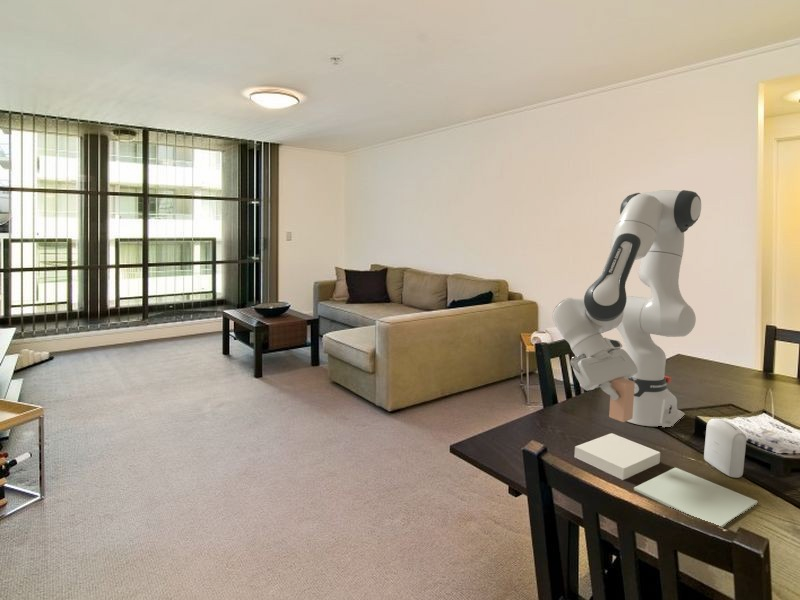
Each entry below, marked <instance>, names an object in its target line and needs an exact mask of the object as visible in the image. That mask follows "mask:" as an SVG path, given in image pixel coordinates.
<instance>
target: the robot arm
mask: <svg viewBox="0 0 800 600" xmlns="http://www.w3.org/2000/svg"><path fill="white" fill-rule="evenodd" d="M701 210H702V200H701V197H700V196H699V194H698V193H697V192H695V191H692V190H685V189H682V190H666V189H665V190H658V191H647V192H642V193H640V192H636V193H631V194H629V195H627V196H626V197H625V198H624V199H623V201H622V202H621V204H620V209H619V217H618V219H617V221H616V224H615V226H614V229H613V233H612V234H611V235H612V236H611V240H610V241H611V242H610V247H609V248H610V253H609V255H608V257H607V260H606V263H605V265H604V266H603V269H602V272H601V274H600V275H599V276H598V278H596V280H595V281H594V282H593V283H592V284H591V285H590V286H589V287H588V288H587V289H586V291H585V293H584V297H583V298H573V297H568V298H565V299H563V300H561V301H560V302H558V304H557V305H556V306H555V307H554V309H553V312H552V321H553V322H554V325H555V326H556V328H557V330H558V331H559V334H560V335H561V336H562V338H563V339H564V340H565V341H566V342H567V343H568V344H569V346H570V349H571V351H572V353H573V354H574V356H572V357H571V359H570V365H571V367H572V370H573V372H574V376H575V377H576V379H577V381H578V383H579V384H580V387H581V388H582V389H583V390H585V391H587V392H588V391H592V390H595V389H597V388H600V389H601V391H603V392H604V393H605V394H607V395H609V397H610V396H611V398H612V399H613V400H614V401H615V400H618V399H619V398H621V395H620V394H619V392H618V391H615V390H614V389H613V388H612V387H611V381H612V380H615V379H618V378H624V379H627V380H631V381H634V382H635V387H634V402H633V418H632V419H630V420H628V421H626V422H628V423H631V424H635V425H639V426H643V427H644V426H646V427H658V426H662V427H661V428H665V427H671V426H672V427H674V426H675V425H676V424H677V423H678V422H679V421H680V420H679V419H681V418H682V417H683V416H684V415H685V412H683V411H682V410H680V409H678V399H677V397H676V395H674V394H673V393H672V392H671V391H670V390H669V389H668V386H667V384H670V383H671V382H672V377H671V376H667V375H665V373H666V362H667V361H666V360H667V355H666V353H665V351H664V350H663V349H662V348H661V347H660V346H659V345H657V344H656V343H655V341H654V340H653V339H652V336H651V335H655V336H661V337H666V338H667V337H668V338H669V337H671V338H677V337H681V338H683V337H686V336H688V335H689V334H690V333H691V332H692V331H693V330H694V328H695V325H696V321H697V320H696V319H697V318H696V314H695V311H694V309H693V308H692V307H691V306H690V304H689V303H687V301H686V300H685V299H684V297H683V296H682V293H681V290H680V285H679V279H680V271H681V264H682V261H683V260H682V259H683V255H684V249H685V232H688V229H689V228H691V227H692V226H694V225H695V224H696V222H697V221H698V219H699V218H700V216H701V212H702V211H701ZM640 259H641V260H640ZM636 260H640V263H639V269H638V272H637V273H638V274H637V275H638V278H639V280H640V281H641V282H642V283H643V284H644V285H646V286H647V287H648V288H649V289H650V290H651V297H650V298H649V297H644V296H643V297H642V296H633V295H632V296H630V295H628V296H627V292H626V291H627V290H626V282H627V281H628V277H629V275H630V272H631V270H632V267H633V265H634V263H635V261H636ZM614 329H616V330H617V331H618V332H619V334H620V336H621V337H622V340H623V343H624V347H625V349H623V343H621V341H619V340H617V339H611V338H608V337H604V336H603V335H602V334H603V333H606V332H609V331H612V330H614ZM684 417H685V416H684ZM684 417H683V418H684ZM683 418H682V419H683ZM682 419H681V420H682ZM678 420H679V421H678ZM677 421H678V422H677ZM676 422H677V423H676ZM675 423H676V424H675ZM674 424H675V425H674ZM672 427H671V428H672Z"/></svg>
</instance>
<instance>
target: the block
mask: <svg viewBox="0 0 800 600" xmlns="http://www.w3.org/2000/svg"><path fill="white" fill-rule="evenodd" d="M611 387H612V388H613V389H614V390H615V391H618V392H619V394H620V395H621V398H619V399H618V400H615V401H614V400H613V399H612V398H611V396H610V395H609V410H608V411H609V413H608V418H611V419H613V420H616V421H618V422H621V423H625V422H627V421H628V420H630V419H632V418H633V402H634V387H635V382H634V381H631V380H627V379H624V378H618V379H615V380H612V381H611Z"/></svg>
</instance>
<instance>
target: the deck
mask: <svg viewBox="0 0 800 600" xmlns="http://www.w3.org/2000/svg"><path fill="white" fill-rule="evenodd" d="M573 458H575V459H578V460H579V461H581V462H584V463H586V464H588V465H591V466H592V467H595V468H597V469H599V470H601V471H603V472H604V473H607V474H609V475H610V476H614V477H616V478H617V479H620V480H622V481H624V480H627V479H629V478H631V477H633V476H635V475H637V474H640V473H642V472H643V471H646V470H648V469H650V468H653V467H655V466H657V465H659V464H660V462H661V461H660V460H661V452H660V451H658V450H655V449H653V448H651V447H648V446H645V445H643V444H640V443H637V442H635V441H633V440H630V439H628V438H625V437H622V436H620V435H619V434H618V435H617V434H615V433H612V432H611V433H608V434H605V435H603V436H600V437H597V438H595V439H592V440H590V441H586V442H584V443H581V444H578V445H576V446H574V457H573Z"/></svg>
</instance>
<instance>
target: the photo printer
mask: <svg viewBox="0 0 800 600" xmlns="http://www.w3.org/2000/svg"><path fill="white" fill-rule="evenodd" d="M705 429H706V430H705V441H704V450H703V452H704V453H703V459H704V461H705V462H706V463H708V464H709V465H711V466H712V467H713V468H715V469H717V470H718V471H720V472H721V473H723V474H725V475H726V476H728V477H730V478H736V479H737V478H741V477H742V476H743V474H744V468H745V467H744V466H745V458H746V457H745V456H746V448H747V446H746V445H747V436H746V434H745V433H744V432H743V431H742V430H741V429H740V428H739V427H738V426H736V425H735V424H734V423H732V422H730V421H728V420H725V419H723V418H710V419H709V420H708V422H707V423H706V428H705Z"/></svg>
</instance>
